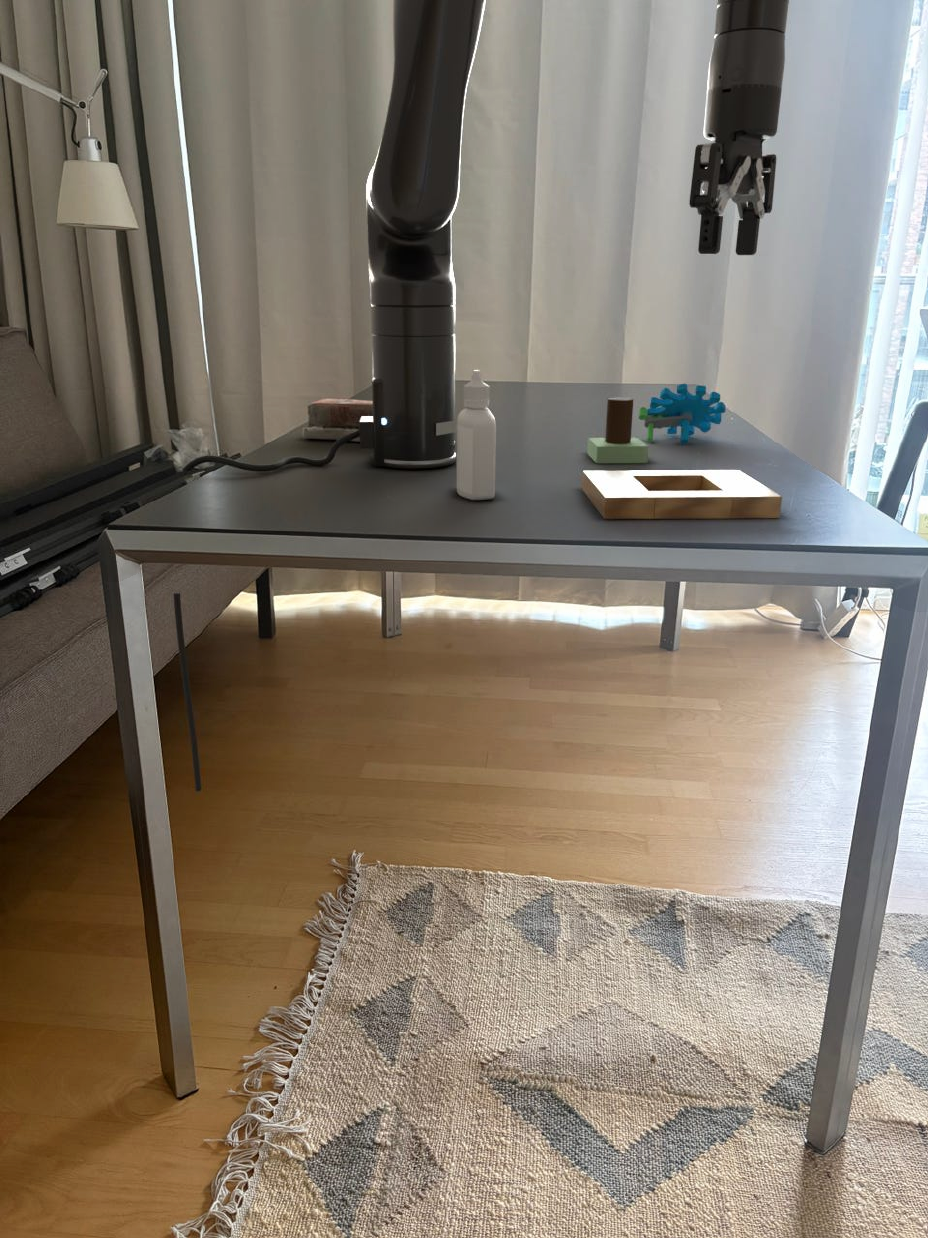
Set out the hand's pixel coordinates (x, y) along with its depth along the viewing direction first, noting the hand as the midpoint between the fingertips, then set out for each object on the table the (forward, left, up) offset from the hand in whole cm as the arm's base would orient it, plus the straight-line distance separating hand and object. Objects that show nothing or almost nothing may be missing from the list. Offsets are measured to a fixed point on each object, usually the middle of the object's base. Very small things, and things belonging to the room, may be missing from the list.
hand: (727, 254), depth 103 cm
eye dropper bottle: (-29, -18, -23) cm, 41 cm away
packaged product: (-40, +17, -23) cm, 49 cm away
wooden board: (-10, -22, -23) cm, 33 cm away
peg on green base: (-11, +1, -23) cm, 25 cm away
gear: (0, +14, -23) cm, 27 cm away
